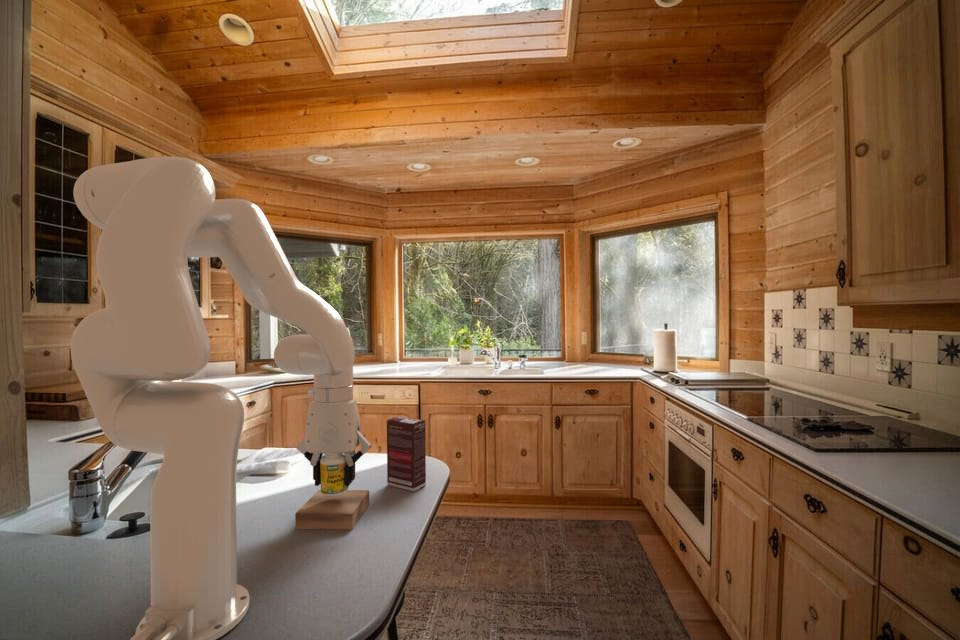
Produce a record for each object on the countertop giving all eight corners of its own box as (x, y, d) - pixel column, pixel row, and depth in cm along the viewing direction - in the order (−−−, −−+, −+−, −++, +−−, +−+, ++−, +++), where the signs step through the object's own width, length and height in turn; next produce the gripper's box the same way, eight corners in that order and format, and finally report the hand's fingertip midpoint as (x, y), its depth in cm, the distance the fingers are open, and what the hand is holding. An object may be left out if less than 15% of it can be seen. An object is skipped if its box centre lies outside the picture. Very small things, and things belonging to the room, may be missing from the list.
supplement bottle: (344, 485, 90) (343, 439, 90) (351, 493, 86) (351, 446, 86) (317, 490, 87) (317, 444, 87) (324, 500, 83) (323, 451, 83)
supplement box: (426, 485, 102) (426, 419, 102) (414, 492, 98) (413, 423, 98) (399, 478, 106) (399, 415, 106) (386, 485, 102) (385, 419, 102)
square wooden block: (352, 529, 81) (352, 513, 81) (295, 529, 81) (295, 513, 81) (369, 504, 92) (369, 490, 92) (318, 503, 92) (318, 489, 92)
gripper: (283, 398, 83) (283, 490, 83) (370, 398, 82) (370, 491, 82) (300, 391, 90) (301, 476, 90) (380, 391, 90) (380, 476, 90)
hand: (334, 482), depth 86 cm, fingers closed on supplement bottle, 5 cm apart
